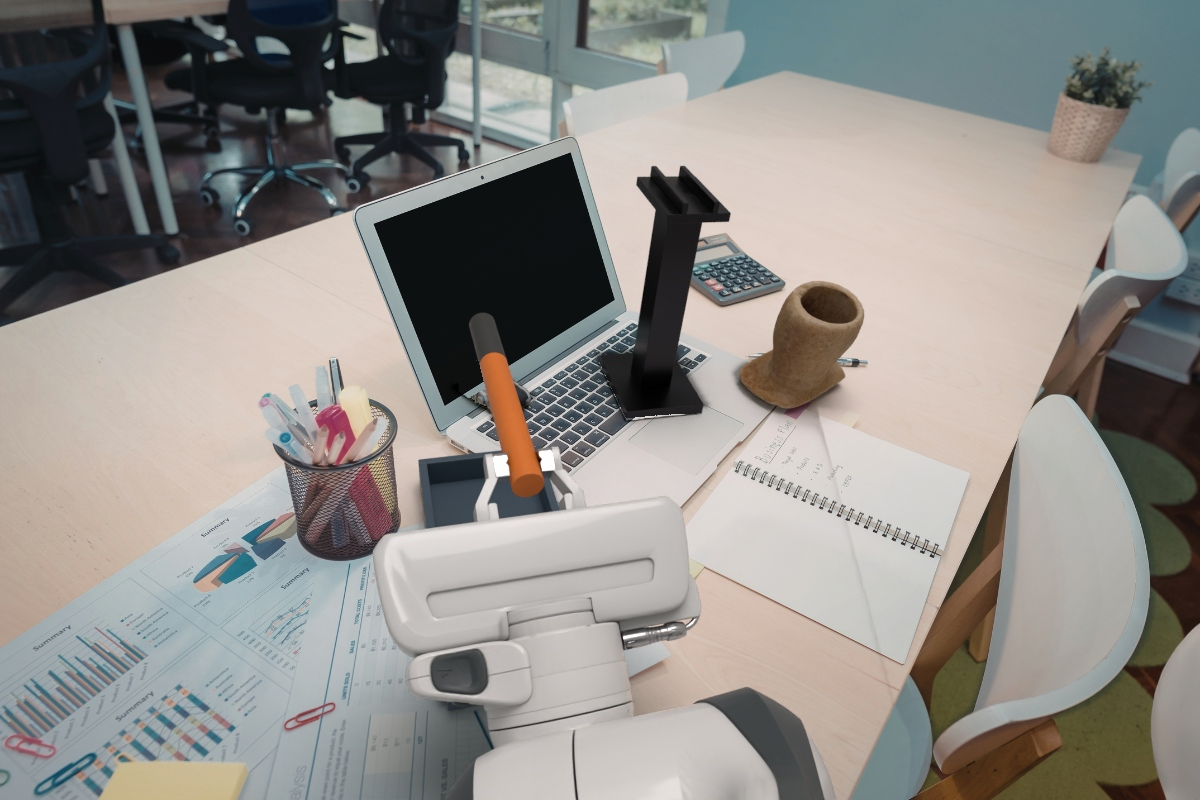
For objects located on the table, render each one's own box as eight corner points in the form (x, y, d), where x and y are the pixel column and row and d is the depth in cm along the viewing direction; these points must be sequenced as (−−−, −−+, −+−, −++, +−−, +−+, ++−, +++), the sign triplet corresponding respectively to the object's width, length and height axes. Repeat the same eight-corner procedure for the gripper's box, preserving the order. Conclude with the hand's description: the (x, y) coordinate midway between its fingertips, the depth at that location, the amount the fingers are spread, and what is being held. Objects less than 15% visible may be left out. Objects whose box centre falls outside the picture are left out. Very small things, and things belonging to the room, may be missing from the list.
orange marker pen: (542, 496, 49) (546, 472, 48) (509, 498, 48) (513, 474, 47) (493, 334, 64) (495, 312, 63) (468, 333, 63) (470, 312, 62)
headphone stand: (701, 413, 90) (751, 205, 74) (625, 421, 88) (658, 207, 71) (668, 358, 99) (706, 162, 83) (598, 364, 97) (622, 162, 80)
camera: (500, 425, 85) (501, 397, 82) (446, 384, 90) (445, 356, 87) (533, 408, 88) (534, 380, 85) (478, 369, 93) (478, 341, 90)
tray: (601, 679, 61) (605, 655, 58) (448, 711, 57) (446, 686, 55) (538, 469, 80) (539, 445, 77) (419, 483, 76) (418, 459, 74)
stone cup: (795, 431, 89) (830, 328, 80) (724, 382, 96) (749, 281, 87) (865, 391, 98) (904, 293, 89) (795, 348, 104) (825, 253, 95)
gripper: (725, 629, 45) (675, 421, 50) (382, 696, 39) (362, 454, 44) (691, 637, 51) (649, 450, 55) (386, 698, 45) (369, 483, 50)
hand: (520, 452), depth 50 cm, fingers closed on orange marker pen, 2 cm apart
